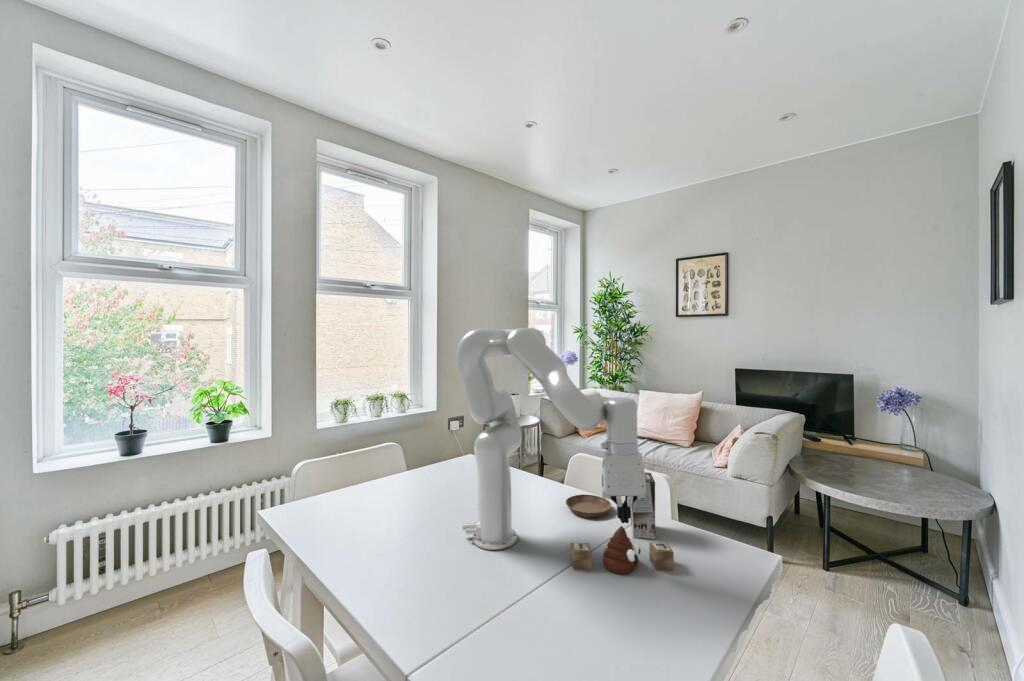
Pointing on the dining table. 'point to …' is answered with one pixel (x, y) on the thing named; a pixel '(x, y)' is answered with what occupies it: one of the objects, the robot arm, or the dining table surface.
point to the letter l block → (661, 556)
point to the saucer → (588, 505)
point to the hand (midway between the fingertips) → (624, 520)
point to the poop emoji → (621, 553)
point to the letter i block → (581, 556)
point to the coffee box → (644, 512)
